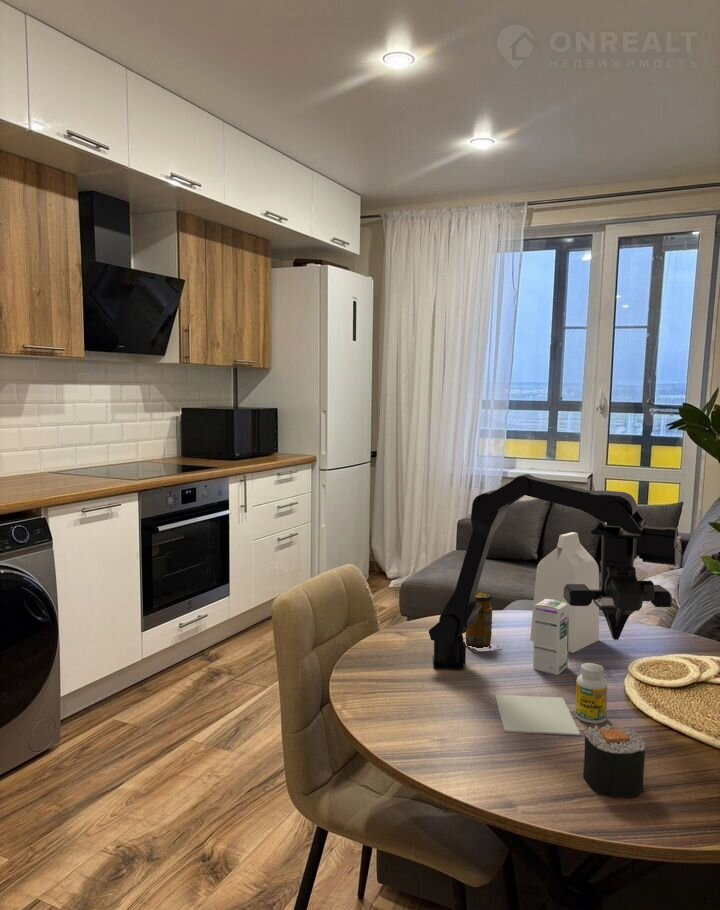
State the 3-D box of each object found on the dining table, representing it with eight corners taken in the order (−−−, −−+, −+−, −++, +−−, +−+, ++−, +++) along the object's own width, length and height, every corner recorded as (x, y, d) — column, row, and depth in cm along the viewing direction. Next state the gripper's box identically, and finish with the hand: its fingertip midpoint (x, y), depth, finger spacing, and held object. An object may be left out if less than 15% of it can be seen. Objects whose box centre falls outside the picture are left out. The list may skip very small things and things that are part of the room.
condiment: (483, 637, 163) (485, 589, 162) (502, 649, 155) (504, 599, 154) (457, 641, 161) (458, 592, 160) (475, 653, 153) (476, 602, 152)
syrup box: (558, 676, 141) (560, 609, 140) (531, 669, 144) (533, 603, 143) (568, 667, 145) (570, 602, 144) (542, 660, 149) (544, 597, 148)
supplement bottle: (605, 713, 125) (607, 663, 124) (606, 726, 119) (609, 674, 119) (575, 708, 126) (576, 659, 125) (575, 721, 121) (577, 670, 120)
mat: (504, 731, 117) (504, 730, 117) (495, 696, 131) (495, 694, 131) (580, 735, 116) (580, 733, 116) (562, 699, 130) (562, 697, 130)
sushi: (652, 797, 98) (655, 745, 98) (597, 799, 98) (600, 747, 97) (626, 767, 106) (628, 719, 106) (575, 769, 106) (577, 720, 105)
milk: (556, 627, 170) (560, 527, 168) (599, 640, 162) (603, 534, 160) (530, 638, 162) (533, 533, 160) (573, 652, 154) (577, 541, 152)
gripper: (578, 569, 119) (576, 654, 120) (686, 570, 118) (683, 656, 119) (563, 554, 130) (562, 632, 132) (661, 555, 129) (659, 634, 130)
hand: (615, 639), depth 128 cm, fingers closed
